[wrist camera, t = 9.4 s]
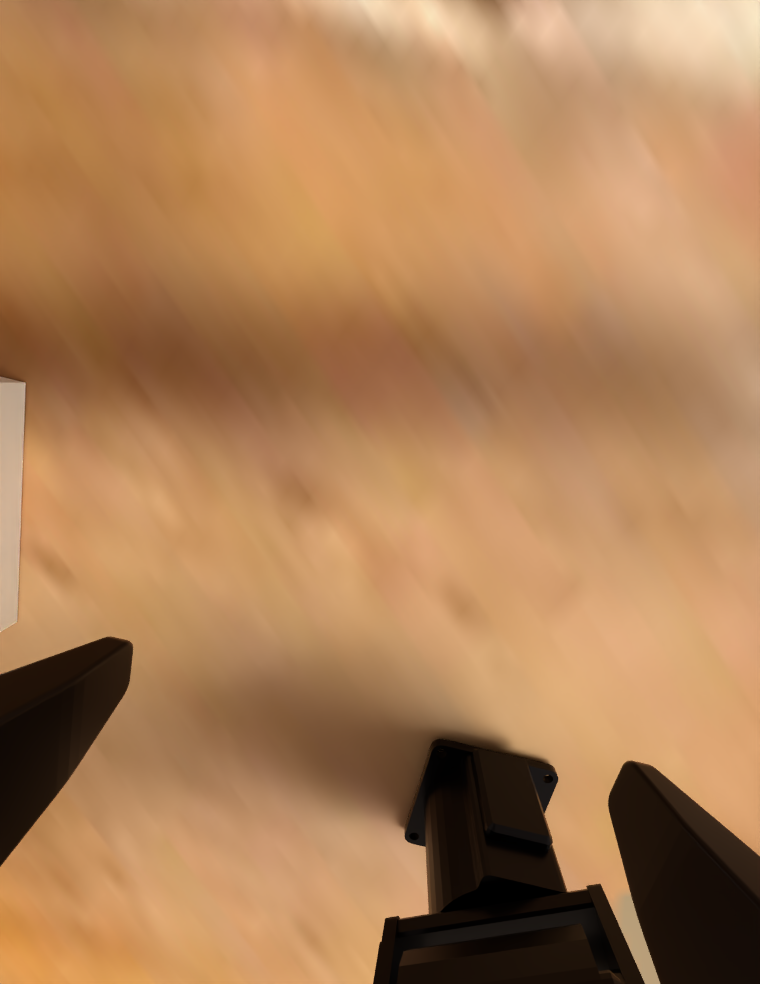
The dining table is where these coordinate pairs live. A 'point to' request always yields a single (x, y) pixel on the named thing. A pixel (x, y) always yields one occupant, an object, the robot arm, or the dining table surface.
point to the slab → (10, 495)
